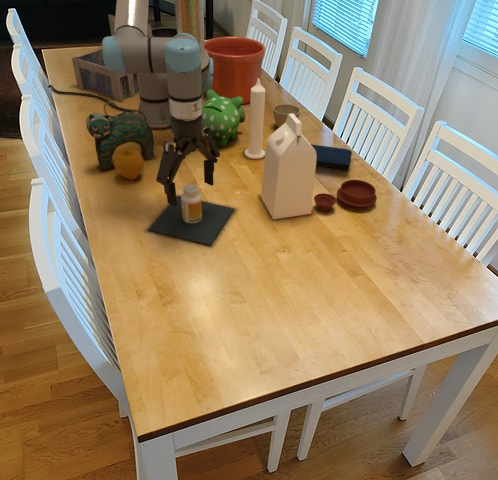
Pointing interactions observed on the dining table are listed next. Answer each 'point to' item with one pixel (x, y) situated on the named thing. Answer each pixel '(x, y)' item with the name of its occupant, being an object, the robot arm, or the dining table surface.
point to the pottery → (349, 195)
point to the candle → (256, 122)
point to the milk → (288, 171)
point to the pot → (235, 65)
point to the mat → (194, 232)
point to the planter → (164, 32)
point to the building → (105, 73)
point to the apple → (129, 163)
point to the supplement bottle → (191, 204)
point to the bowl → (284, 113)
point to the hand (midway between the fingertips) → (191, 193)
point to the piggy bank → (222, 117)
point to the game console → (332, 157)
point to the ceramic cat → (119, 134)
